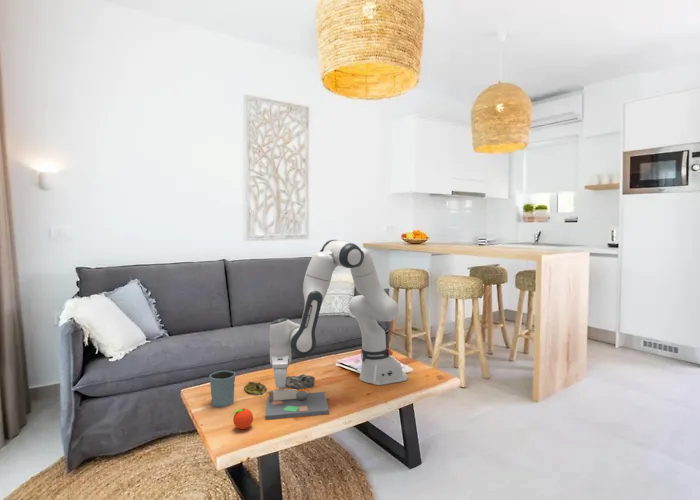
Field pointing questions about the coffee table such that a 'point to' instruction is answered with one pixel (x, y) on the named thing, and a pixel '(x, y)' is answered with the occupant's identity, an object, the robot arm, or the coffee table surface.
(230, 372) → the grey-green cup
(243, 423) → the clementine
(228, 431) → the coffee table surface
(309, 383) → the fossil rock
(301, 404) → the dial board
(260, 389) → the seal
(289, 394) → the control lever
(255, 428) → the coffee table surface
